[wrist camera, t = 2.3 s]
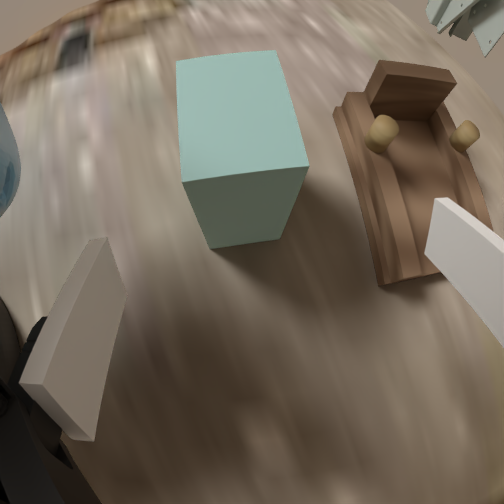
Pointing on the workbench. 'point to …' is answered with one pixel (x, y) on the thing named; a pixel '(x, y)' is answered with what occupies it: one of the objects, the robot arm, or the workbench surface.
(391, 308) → the workbench surface
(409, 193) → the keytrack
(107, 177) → the workbench surface
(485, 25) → the bracket
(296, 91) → the workbench surface
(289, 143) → the mint green box
